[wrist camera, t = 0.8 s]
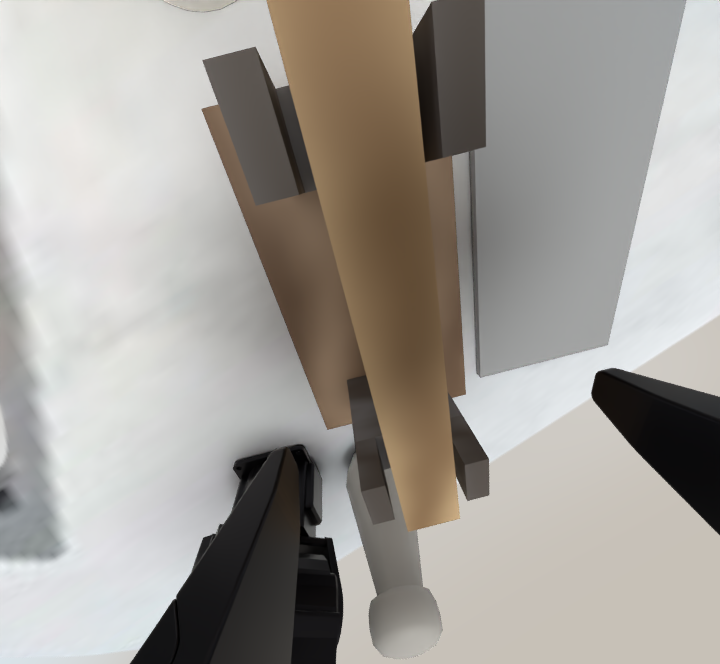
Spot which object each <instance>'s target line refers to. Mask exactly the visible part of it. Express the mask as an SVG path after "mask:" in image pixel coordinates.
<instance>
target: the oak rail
mask: <svg viewBox="0 0 720 664" xmlns="http://www.w3.org/2000/svg"><path fill="white" fill-rule="evenodd" d="M267 4H268V8H269V11H270V15H271V19H272V23H273V26H274V30H275V34H276V38H277V42H278V45H279V49H280V53H281V57H282V60H283V64H284V68H285V72H286V75H287V79H288V83H289V87H290V90H291V94H292V98H293V102H294V105H295V109H296V113H297V117H298V120H299V124H300V128H301V132H302V136H303V139H304V143H305V147H306V151H307V154H308V158H309V162H310V166H311V169H312V173H313V177H314V181H315V184H316V188H317V192H318V196H319V199H320V203H321V207H322V211H323V214H324V218H325V222H326V226H327V230H328V233H329V237H330V241H331V245H332V248H333V252H334V256H335V260H336V263H337V267H338V271H339V275H340V278H341V282H342V286H343V290H344V293H345V297H346V301H347V305H348V308H349V312H350V316H351V320H352V323H353V327H354V331H355V335H356V339H357V342H358V346H359V350H360V354H361V357H362V361H363V365H364V369H365V372H366V376H367V380H368V384H369V387H370V391H371V395H372V399H373V402H374V406H375V410H376V414H377V417H378V421H379V425H380V429H381V433H382V436H383V440H384V444H385V448H386V451H387V455H388V459H389V463H390V466H391V470H392V474H393V478H394V481H395V485H396V489H397V493H398V496H399V500H400V504H401V508H402V511H403V515H404V519H405V523H406V526H407V530H408V532H410V531H414V530H417V529H421V528H425V527H429V526H433V525H437V524H441V523H445V522H449V521H453V520H456V519H460V515H459V504H458V494H457V483H456V473H455V463H454V453H453V443H452V433H451V422H450V412H449V402H448V392H447V382H446V372H445V361H444V351H443V341H442V331H441V321H440V310H439V300H438V290H437V280H436V270H435V260H434V249H433V239H432V229H431V219H430V209H429V199H428V188H427V178H426V168H425V158H424V148H423V137H422V127H421V117H420V107H419V97H418V87H417V76H416V66H415V56H414V46H413V36H412V26H411V15H410V5H409V0H267Z"/></svg>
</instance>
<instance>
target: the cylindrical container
mask: <svg viewBox="0 0 720 664" xmlns="http://www.w3.org/2000/svg"><path fill="white" fill-rule="evenodd" d="M164 1H165V2H167V3H169V4H171V5H173V6H176V7H179V8H182V9H185V10H189V11H199V12H207V11H213V10H218V9H222V8H223V7H225V6H227V5H229V4H231V3H233V2H235V1H236V0H164Z"/></svg>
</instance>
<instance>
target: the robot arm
mask: <svg viewBox="0 0 720 664" xmlns="http://www.w3.org/2000/svg"><path fill="white" fill-rule="evenodd" d="M591 395H592V398H593V400H594V402H595V403H596V404H597V405H598V407H599V408H600V409H601V410H602V411H603V413H604V414H605V415H606V416H607V417H608V418H609V420H610V421H611V422H612V423H613V425H614V426H615V427H616V428H617V429H618V430H619V432H620V433H621V434H622V435H623V436H624V438H625V439H626V440H627V441H628V442H629V443H630V445H631V446H632V447H633V448H634V449H635V450H636V451H637V452H638V453H639V454H640V455H641V456H642V458H643V459H644V460H645V461H647V463H648V464H649V465H650V466H651V467H652V468H654V469H655V471H656V472H657V473H658V474H659V475H661V477H662V478H663V479H664V480H665V481H666V482H667V483H668V484H669V485H670V486H671V487H672V488H673V489H674V490H675V491H676V492H677V493H678V494H679V495H680V496H681V497H682V498H683V499H684V500H685V501H686V502H687V503H688V504H689V505H690V506H691V507H692V508H693V509H694V510H695V511H696V512H697V513H698V514H699V515H700V516H701V517H702V518H703V519H704V520H705V521H706V522H707V523H708V524H709V525H710V526H711V527H712V528H713V529H714V530H715V531H716V532H717V533H718V534H719V535H720V397H718V396H715V395H711V394H707V393H704V392H700V391H696V390H693V389H689V388H685V387H682V386H678V385H674V384H671V383H667V382H664V381H660V380H656V379H653V378H649V377H646V376H642V375H638V374H635V373H631V372H627V371H624V370H620V369H616V368H610V369H605V370H601V371H598V372H597V373H596V375H595V379H594V383H593V387H592V392H591ZM233 470H234V471H235V473H236V474H237V476H238V477H239V478H240V483H239V487H238V490H237V494H236V497H235V501H234V504H233V508H232V512H231V514H230V515H229V517H228V518H227V520H226V521H225V523H224V524H220V525H219V527H218V529H217V532H216V534H212V535H210V536H207V537H204V538H203V540H202V543H201V546H200V548H199V551H198V554H197V557H196V560H195V563H194V566H193V569H192V572H191V574H190V576H189V577H188V579H187V580H186V582H185V583H184V585H183V586H182V588H181V589H180V591H179V592H178V594H177V596H176V599H174V600H173V601H172V603H171V604H170V606H169V607H168V609H167V610H166V612H165V613H164V615H163V616H162V618H161V619H160V621H159V622H158V624H157V625H156V627H155V628H154V629H153V631H152V632H151V634H150V635H149V637H148V638H147V640H146V641H145V643H144V644H143V645H142V647H141V648H140V650H139V651H138V653H137V654H136V656H135V657H134V659H133V660H132V661H131V663H130V664H336V649H337V645H338V642H339V638H340V634H341V628H342V620H343V594H342V588H341V582H340V578H339V572H338V566H337V561H336V556H335V551H334V545H333V540H332V538H328V537H325V538H317V537H315V536H316V525H320V523H321V522H322V478H321V476H320V474H319V472H318V470H317V468H316V465H315V464H314V463H313V462H311V461H310V458H309V456H308V454H307V452H306V450H305V448H304V447H303V446H300V445H299V446H294V447H290V448H288V447H283V448H279V449H275V450H273V451H272V452H271V453H267V454H263V455H259V456H255V457H251V458H247V459H244V460H240V461H237V462H235V464H234V467H233Z"/></svg>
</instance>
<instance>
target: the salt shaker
mask: <svg viewBox="0 0 720 664" xmlns="http://www.w3.org/2000/svg"><path fill="white" fill-rule="evenodd" d="M384 472H385V476H386V481H387V485H388V490H389V494H390V499H391V504H392V508H393V513H394V517H395V520H391V521H387V522H383V523H380V524H376V525H373V523H372V521H371V518H370V515H369V512H368V510H367V507H366V504H365V501H364V499H363V496H362V493H361V488H360V480H359V472H358V464H357V456H356V453H355V454H353V457H352V460H351V463H350V466H349V469H348V473H347V483H346V487H347V491H348V494H349V498H350V501H351V505H352V508H353V512H354V515H355V519H356V522H357V526H358V530H359V533H360V537H361V540H362V544H363V547H364V551H365V554H366V558H367V561H368V565H369V568H370V572H371V575H372V579H373V582H374V586H375V589H376V593H377V597H375V598H374V599H373V600H372V601H371V604H370V609H369V626H370V633H371V637H372V642H373V645H374V646H375V648H376V649H377V650H378V651H379V652H380V653H381V654H382V655H383V656H384V657H388V658H393V659H406V658H412V657H416V656H418V655H421V654H423V653H425V652H426V651H428V650H430V649H431V648H432V647H434V646H435V645H436V644H437V642H438V641H439V638H440V636H441V633H442V623H441V616H440V612H439V609H438V606H437V603H436V600H435V599H434V597H433V595H432V593H431V592H430V590H429V589H427V588H425V587H423V583H422V574H421V564H420V555H419V546H418V536H417V530H414V531H410V532H408V530H407V526H406V523H405V519H404V515H403V511H402V508H401V504H400V500H399V496H398V493H397V489H396V485H395V481H394V478H393V474H392V470H391V468H389V469H386V470H384Z"/></svg>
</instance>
